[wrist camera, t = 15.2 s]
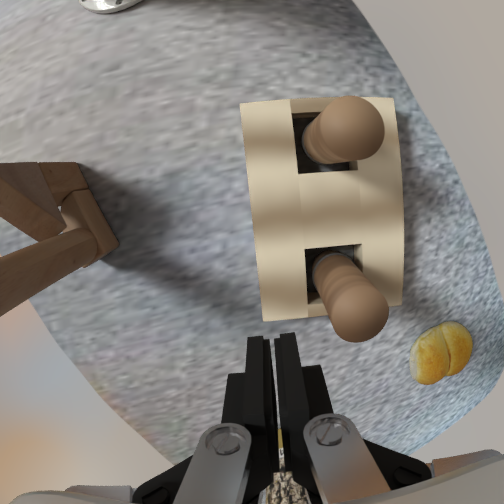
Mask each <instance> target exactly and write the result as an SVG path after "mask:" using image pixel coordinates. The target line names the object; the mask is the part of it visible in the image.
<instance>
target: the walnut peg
mask: <svg viewBox="0 0 504 504" xmlns="http://www.w3.org/2000/svg"><path fill="white" fill-rule="evenodd" d="M312 280H313V283H314V286H315V288H316V289H317V291H318V292H319V295H320V297H321V299H322V302H323V304H324V306H325V309H326V311H327V313H328V316H329V318H330V321H331V323H332V325H333V328H334V330H335V332H336V333H337V335H338V336H339V337H340V338H342V339H343V340H346V341H348V342H355V343H357V342H364V341H367V340H369V339H371V338H373V337H374V336H376V335H377V334H378V333H379V332H380V331H381V330H382V329H383V327H384V326H385V324H386V322H387V319H388V315H389V307H388V303H387V300H386V299H385V297H384V296H383V295H382V294H381V293H380V291H379V290H378V289H377V288H376V287H375V286H374V285H373V284H372V283H371V282H370V280H369V279H368V278H367V277H366V276H365V275H364V274H363V273H362V272H361V271H360V270H359V268H358V267H357V266H356V265H355V263H354V262H353V260H352V259H351V258H350V257H348V256H347V255H345V254H344V253H342V252H339V251H334V250H324V251H322V252H320V253H319V254H318V255H317V256H316V257H315V259H314V261H313V266H312Z"/></svg>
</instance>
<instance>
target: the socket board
mask: <svg viewBox="0 0 504 504" xmlns="http://www.w3.org/2000/svg"><path fill="white" fill-rule="evenodd" d="M337 98H339V97H323V98H300V99H284V100H272V101H261V102H251V103H242V104H240V111H241V120H242V129H243V138H244V147H245V156H246V165H247V174H248V184H249V193H250V202H251V211H252V221H253V230H254V239H255V248H256V258H257V267H258V277H259V286H260V295H261V305H262V314H263V322H264V321H275V320H286V319H296V318H306V317H315V316H324V315H328V313H327V311H326V309H325V306H324V304H323V302H322V299H321V297H320V295H319V292H312V293H307V284H306V267H305V251H304V249H310V248H321V247H331V246H342V245H352V244H354V263H355V265H356V266H357V267H358V268H359V270H360V271H361V272H362V273H363V274H364V275H365V276H366V277H367V278H368V279H369V280H370V282H371V283H372V284H373V285H374V286H375V287H376V288H377V289H378V290H379V291H380V293H381V294H382V295H383V296H384V297H385V299H386V300H387V303H388V307H392V306H398V305H402V292H403V270H404V207H403V185H402V170H401V158H400V147H399V138H398V129H397V121H396V114H395V107H394V100H393V98H379V97H360V98H363V99H365V100H367V101H369V102H370V103H371V104H372V105H374V107H375V108H376V109H377V110H378V111H379V113H380V115H381V117H382V119H383V122H384V127H385V136H384V140H383V143H382V145H381V147H380V148H379V150H378V151H377V152H376V153H375V154H374V155H372V156H371V157H369V158H366V159H363V160H356V161H349V171H332V172H317V173H303V174H298V168H297V159H296V149H295V140H294V131H293V123H292V119H295V118H312V117H317V116H318V115H319V114H320V113H321V112H322V111H323V110H324V109H325V108H326V107H327V106H328V105H329V104H330V103H331V102H332V101H333V100H335V99H337Z"/></svg>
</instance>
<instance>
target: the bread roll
mask: <svg viewBox="0 0 504 504" xmlns="http://www.w3.org/2000/svg"><path fill="white" fill-rule="evenodd" d="M472 348H473V342H472V337H471V335H470V333H469V331H468V330H467V329H466V328H465V327H464V326H462V325H461V324H459V323H457V322H454V321H448V322H443V323H441V324H439V325H438V326H436V327H432V328H430V329H428V330H426V331H425V332H424V333H422V334H421V335H420V336H419V337H418V338H417V340H416V341H415V342H414V344H413V346H412V348H411V351H410V358H409V362H410V373H411V375H412V378H413V379H415V380H416V381H418V382H419V383H421V384H424V385H430V384H434V383H436V382H438V381H439V380H441V379H442V378H443V377H444V376H452V375H455V374H457V373H459V372H460V371H461V370H462V369H463V368H464V367H465V366H466V364H467V363H468V361H469V358H470V356H471V353H472Z"/></svg>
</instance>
